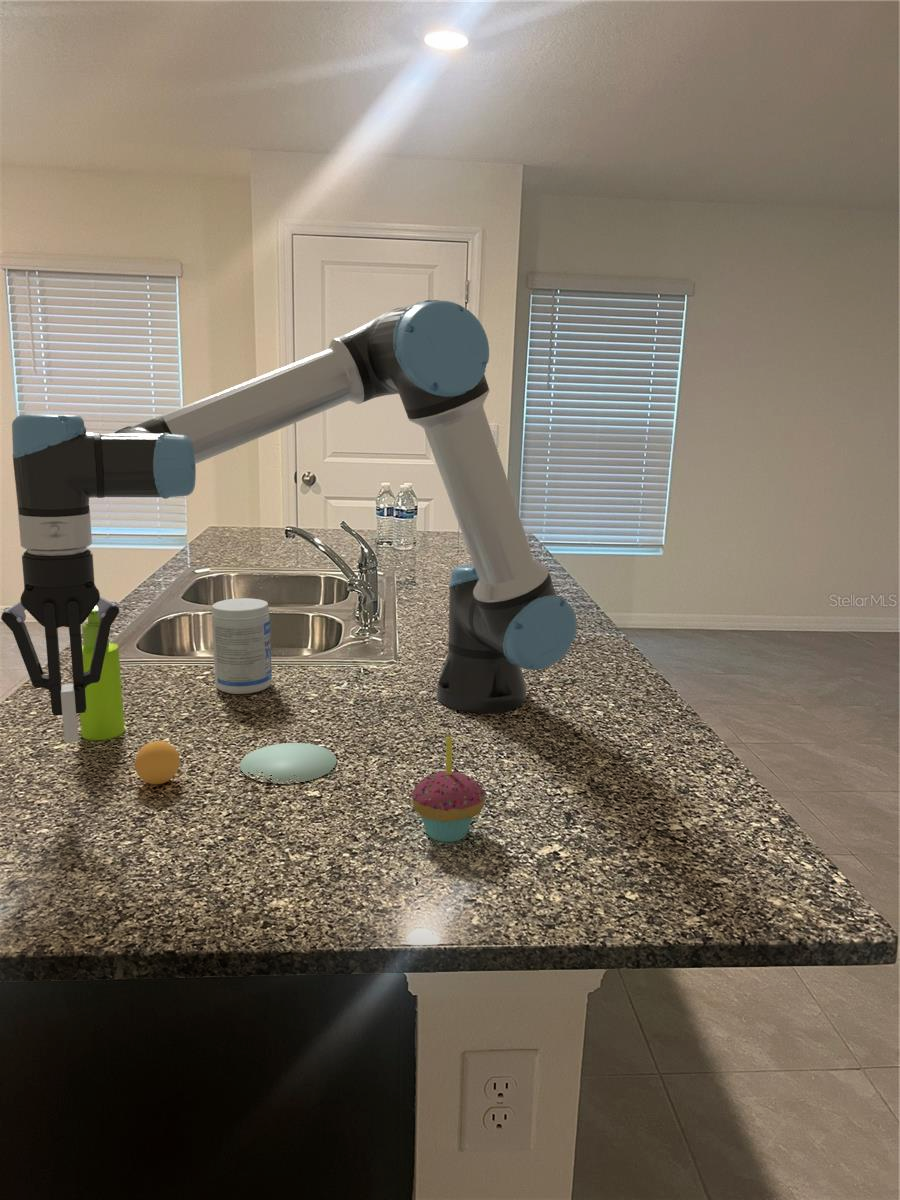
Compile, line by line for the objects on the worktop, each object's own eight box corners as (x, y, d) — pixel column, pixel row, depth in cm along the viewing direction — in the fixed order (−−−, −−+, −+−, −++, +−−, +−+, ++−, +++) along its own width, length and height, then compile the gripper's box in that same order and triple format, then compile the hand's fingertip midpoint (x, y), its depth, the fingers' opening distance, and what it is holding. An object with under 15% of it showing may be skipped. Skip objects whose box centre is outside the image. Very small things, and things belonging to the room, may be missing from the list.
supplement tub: (280, 690, 143) (278, 607, 139) (226, 699, 138) (222, 613, 134) (259, 674, 151) (257, 595, 147) (207, 682, 145) (203, 600, 142)
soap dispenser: (83, 745, 119) (72, 609, 114) (80, 728, 124) (68, 598, 120) (127, 739, 121) (118, 605, 116) (121, 722, 127) (112, 595, 122)
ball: (189, 777, 110) (187, 738, 108) (160, 795, 105) (158, 754, 103) (156, 769, 112) (154, 731, 110) (126, 786, 107) (123, 746, 105)
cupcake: (410, 815, 101) (411, 723, 99) (479, 813, 102) (482, 722, 99) (413, 852, 93) (414, 753, 90) (488, 851, 94) (492, 752, 91)
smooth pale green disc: (353, 754, 118) (353, 752, 118) (304, 792, 106) (304, 790, 106) (275, 738, 123) (275, 736, 123) (220, 773, 111) (220, 771, 111)
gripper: (-10, 557, 91) (9, 756, 97) (118, 553, 96) (129, 743, 102) (-3, 545, 98) (14, 732, 104) (116, 542, 103) (126, 721, 109)
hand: (71, 737), depth 103 cm, fingers closed
